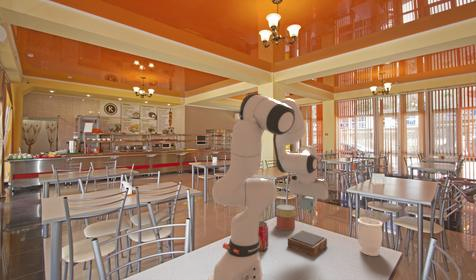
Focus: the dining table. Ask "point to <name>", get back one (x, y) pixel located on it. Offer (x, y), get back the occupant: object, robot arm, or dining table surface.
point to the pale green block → (306, 203)
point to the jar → (369, 236)
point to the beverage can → (263, 235)
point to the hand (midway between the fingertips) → (307, 204)
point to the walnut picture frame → (307, 242)
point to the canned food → (285, 217)
